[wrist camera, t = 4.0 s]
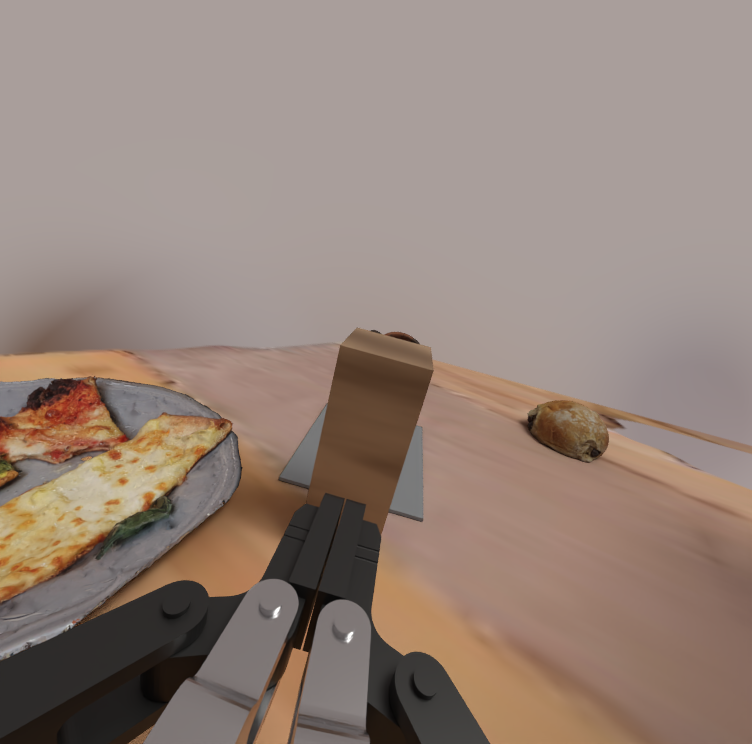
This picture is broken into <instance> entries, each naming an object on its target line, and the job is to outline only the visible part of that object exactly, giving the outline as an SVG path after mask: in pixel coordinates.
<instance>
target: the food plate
mask: <svg viewBox="0 0 752 744" xmlns="http://www.w3.org/2000/svg"><path fill="white" fill-rule="evenodd" d="M232 424H233V423H231V421H229V420H227V419H224V418H222V417H221V416H220V415H219V414H218V413H216V412H214V411H212V410H211V409H210V408H208V407H207V406H205V405H202V404H201V403H199V402H197V401H196V400H194V399H193V398H191V397H189V396H188V395H186V394H182V393H178V392H176V391H172V390H169V389H166V388H163V387H159V386H155V385H148V384H141V383H135V382H128V381H122V380H114V379H110V378H108V379H104V378H96V377H95V376H94V377H87V378H76V379H75V378H74V379H73V378H72V379H62V378H61V379H53V378H51V379H49V378H45V379H38V380H34V381H21V382H0V660H3V659H6V658H9V657H10V656H13V655H14V654H16V653H19V652H20V651H22V650H25V649H28V648H29V647H31V646H33V645H34V646H35V645H36V644H39V643H41V642H44V641H46V640H48V639H51V638H53V637H55V636H57V635H59V634H61V633H63V631H64V630H65V631H67V630H69V629H71V628H72V627H74V626H75V624H76V623H77V622H78V621H79V622H80V621H81V620H82V619H83V618H85V617H86V616H87V615H88V614H89V613H91V612H92V611H93V610H94V609H95V608H97V607H99V606H101V605H102V604H103V603H105V601H106V600H107V599H108V598H110V597H111V596H113V595H114V594H115V593H116V592H117V591H118V590H119V589H120V588H121V587H123V586H124V585H125V584H126V583H127V582H129V581H130V580H132V579H133V578H134V577H135V576H136V577H137V575H138V574H139V573H140V572H141V571H142V570H143V569H145V568H149V567H150V566H151V565H152V564H153V563H154V561H156V560H157V559H160V558H161V556H162V555H164V554H165V553H166V552H167V551H168V550H170V549H171V548H172V547H173V546H174V545H175V544H178V542H180V541H181V539H182V538H183V537H184V536H185V535H187V534H188V533H190V532H191V531H192V530H194V529H195V528H197V527H198V526H199V525H200V524H201V523H202V522H203V521H204V520H205V519H206V518H207V517H209V516H210V515H211V514H213V513H215V511H216V510H217V509H219V508H220V507H221V506H223V505H224V504H223V503H222V502H225V503H227V502H228V501H229V499H230V497H231V496H232V494H233V493H234V491H235V490H236V488H237V487H238V486H239V481H240V479H241V471H242V467H241V461H240V460H241V459H240V455H239V450H238V447H239V446H238V437H237V436H236V434H235V433H234V432H233V431H231V430H232ZM86 456H91V457H92V458H91V459H89V460H87V461H82V460H80V459H82V458H84V457H86ZM85 614H86V616H84V615H85ZM79 622H78V623H79Z"/></svg>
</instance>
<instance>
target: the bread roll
mask: <svg viewBox="0 0 752 744" xmlns="http://www.w3.org/2000/svg"><path fill="white" fill-rule="evenodd" d="M528 421H529V424H528V427H529V430H530V431H531V434H532V435H533V436H535V437H536V438H537V439H538V440H539V441H540V442H541V443H542V444H545V445H547V446H549V447H550V448H552V449H553V450H555V451H557V452H559V453H561V454H564V455H566V456H568V457H571V458H576V459H579V460H581V461H582V462H591V461H592V460H593V459H596V458H598V457H599V456H602V454H603V453H604V452H605V450H606V449H607V447H608V442H609V434H608V431H607V428H606V426H605V424H604V422H603V421H602V420H601V419H600V418H599V415H598V414H597V413H596V412H594V411H591V410H590V409H589V408H587V407H585V406H584V405H582V404H579V403H576V402H573V401H563V400H560V401H552V402H547V403H545V404H540V405H537V408H535V410H531V411H529V413H528Z"/></svg>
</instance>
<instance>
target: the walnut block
mask: <svg viewBox="0 0 752 744" xmlns="http://www.w3.org/2000/svg"><path fill="white" fill-rule="evenodd" d="M433 371H434V370H433V362H432V354H431V348H430V347H427V346H423V345H420V344H416V343H412V342H409V341H405V340H401V339H397V338H394V337H390V336H386V335H383V334H379V333H375V332H372V331H368V330H364V329H360V328H356V329H355V330H354V331H353V332H352V333H351V334H350V336H349V337H348V338H347V339H346V340H345V341H344V342H343V343H342V344H341V345H340V349H339V354H338V358H337V363H336V367H335V372H334V377H333V381H332V386H331V390H330V395H329V400H328V404H327V409H326V413H325V418H324V423H323V427H322V432H321V436H320V441H319V446H318V450H317V455H316V459H315V464H314V469H313V473H312V478H311V482H310V487H309V491H308V496H307V501H306V504H310V505H313V506H317V507H319V506H320V504H321V501H322V499H323V496H324V494H325V493H329V494H332V495H335V496H339V497H342V498H345V500H344V504H343V508H342V512H343V509H344V505H345V502H346V499H349V500H353V501H356V502H360V503H363V504H366V508H365V513H364V517H363V520H365V521H368V522H372V523H375V524H377V526H378V529H379V532H380V535H381V534H382V531H383V527H384V524H385V521H386V518H387V515H388V512H389V509H390V505H391V502H392V499H393V496H394V493H395V490H396V487H397V484H398V480H399V477H400V474H401V471H402V468H403V465H404V462H405V458H406V455H407V452H408V449H409V446H410V443H411V440H412V437H413V433H414V430H415V427H416V424H417V421H418V418H419V415H420V411H421V408H422V405H423V402H424V399H425V396H426V393H427V390H428V386H429V383H430V380H431V377H432V374H433ZM342 512H341V515H342ZM340 518H341V516H340ZM339 522H340V519H339ZM338 525H339V523H338ZM337 528H338V527H337ZM335 535H336V534H335Z"/></svg>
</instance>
